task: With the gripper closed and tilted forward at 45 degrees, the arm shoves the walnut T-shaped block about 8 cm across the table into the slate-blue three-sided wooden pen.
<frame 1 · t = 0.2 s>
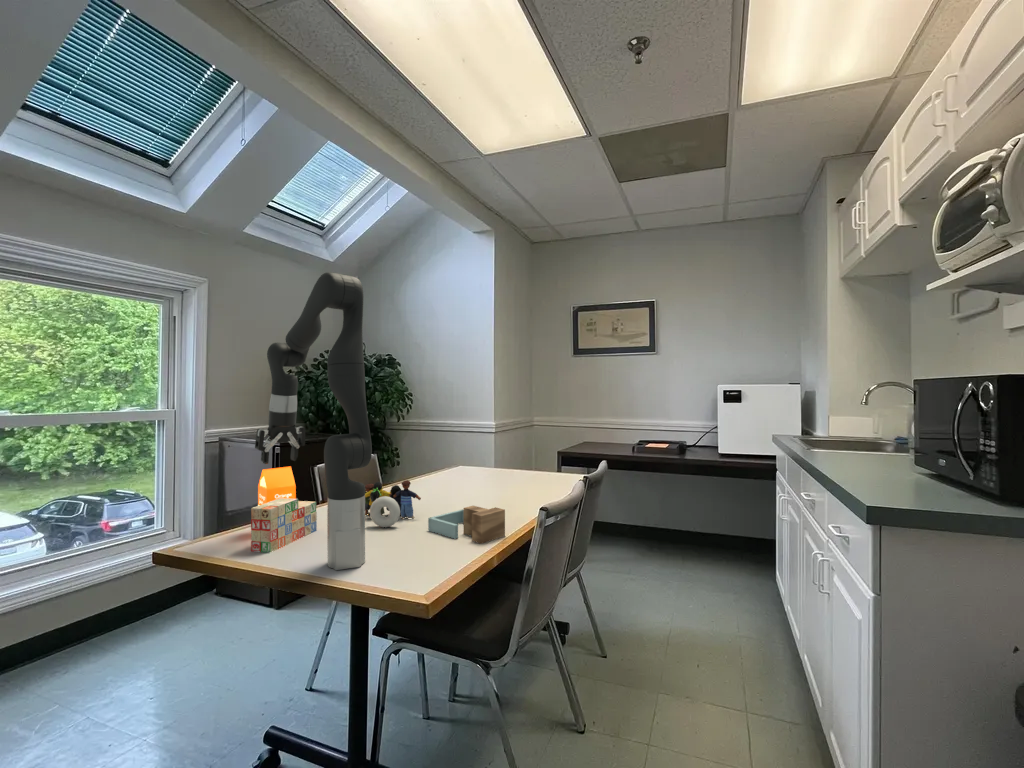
hand: (279, 461, 149), 23 cm above the table, tool pointing down, fingers open, 8 cm apart
stack of blocks: (286, 541, 145), on the table
doll family: (389, 517, 171), on the table
donut: (385, 527, 158), on the table
tee block: (480, 535, 149), on the table
orange juice: (276, 532, 154), on the table
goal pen: (462, 530, 154), on the table
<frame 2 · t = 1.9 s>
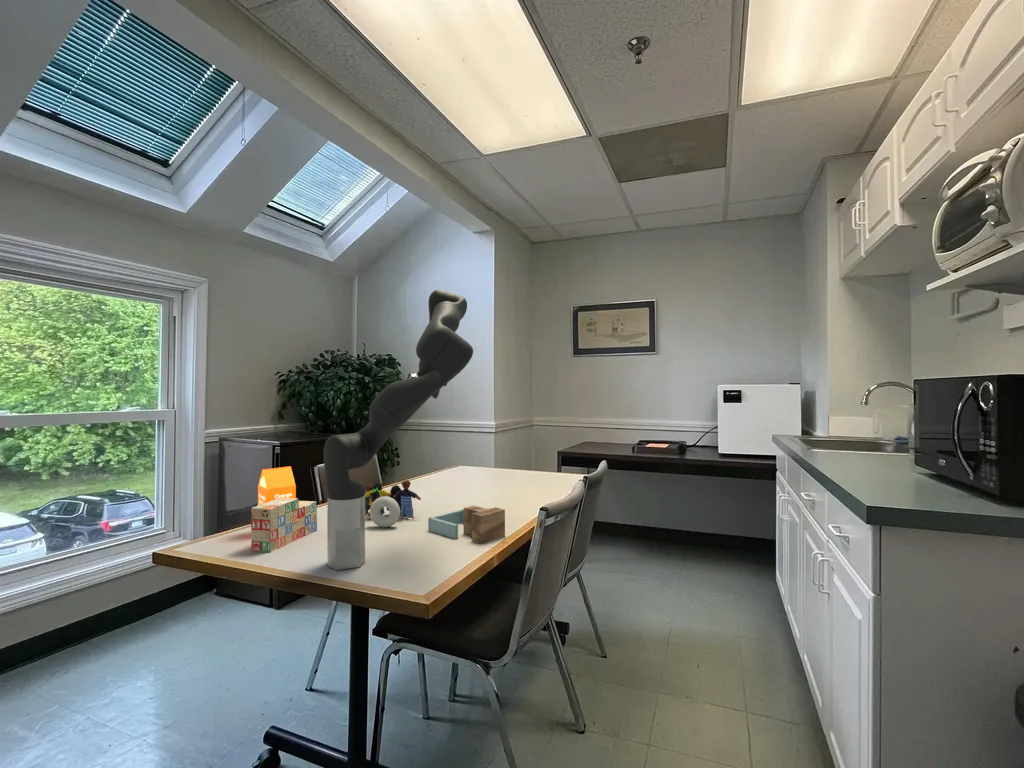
hand: (422, 399, 151), 41 cm above the table, tool tilted 35°, fingers open, 8 cm apart
nothing on the table moved.
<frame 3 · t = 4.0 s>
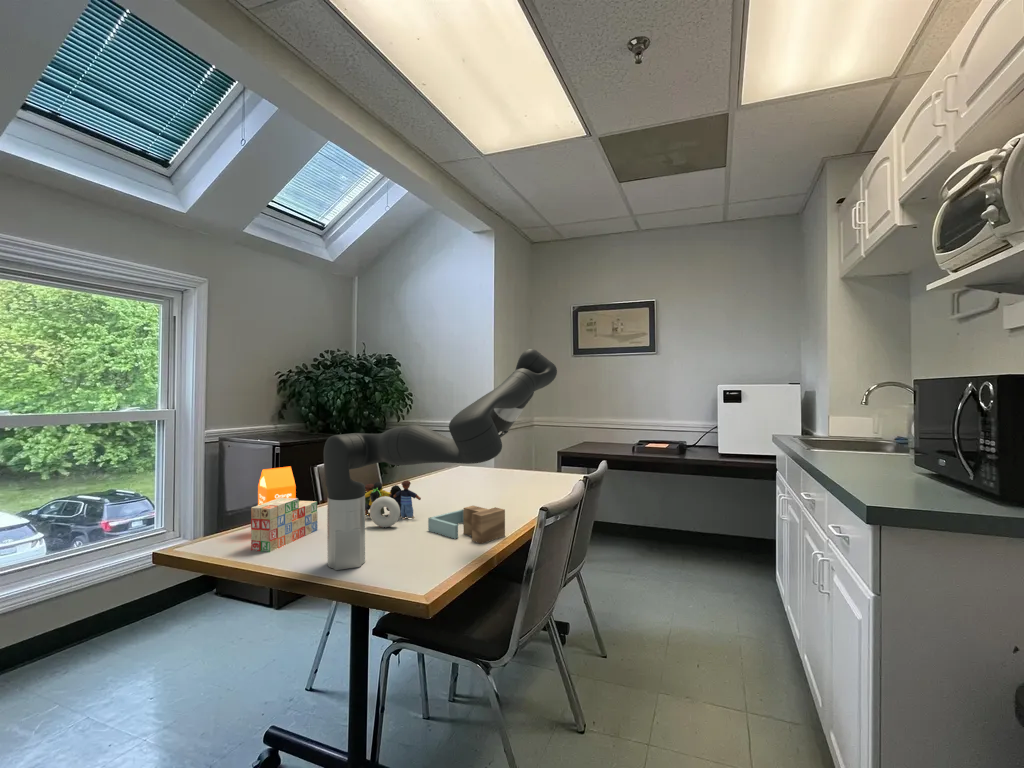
hand: (477, 450, 144), 26 cm above the table, tool tilted 45°, fingers closed
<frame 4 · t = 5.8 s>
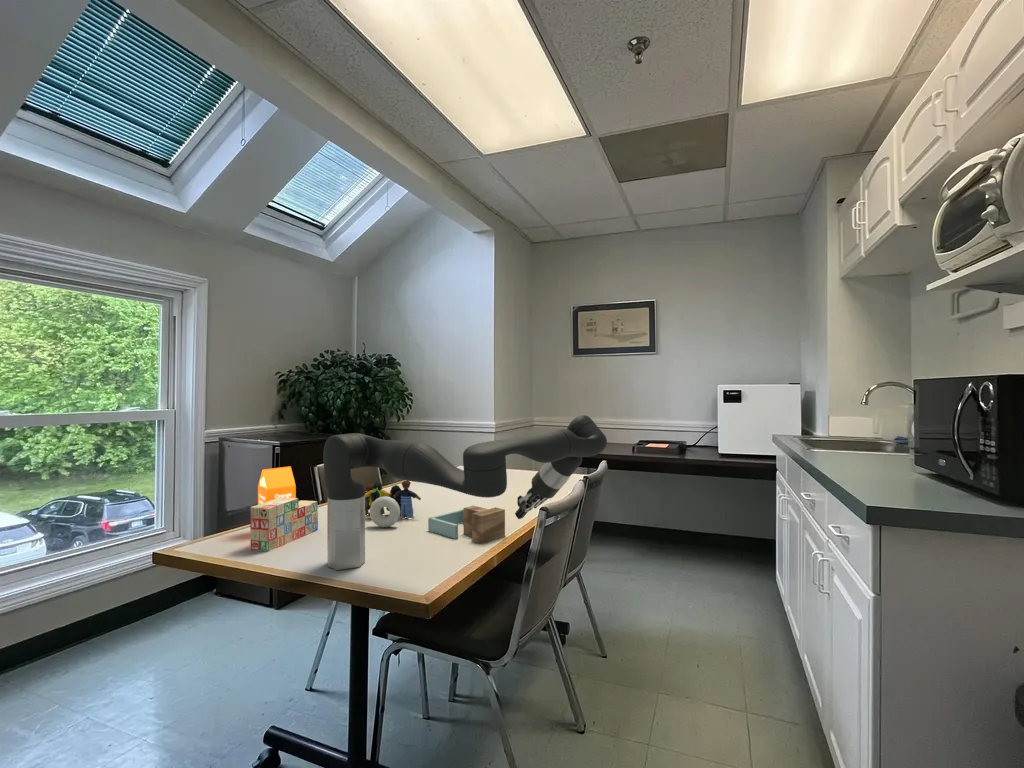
hand: (518, 516, 140), 8 cm above the table, tool tilted 45°, fingers closed
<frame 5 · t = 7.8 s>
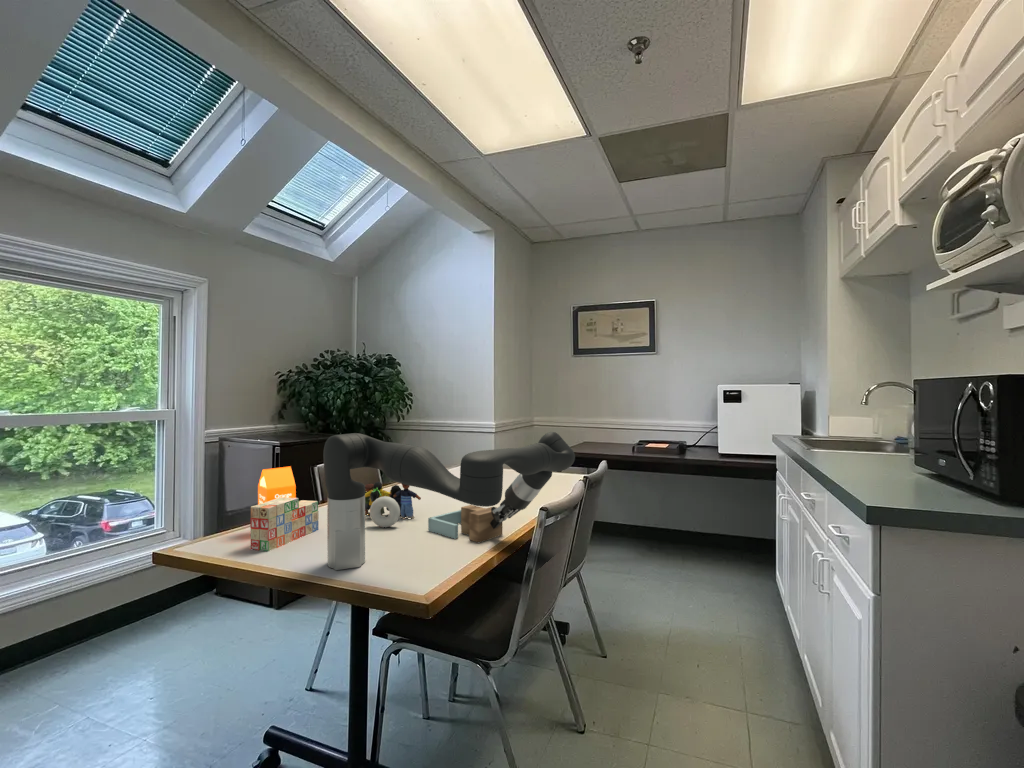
hand: (493, 525, 146), 4 cm above the table, tool tilted 45°, fingers closed
tee block: (478, 535, 150), on the table, touching gripper
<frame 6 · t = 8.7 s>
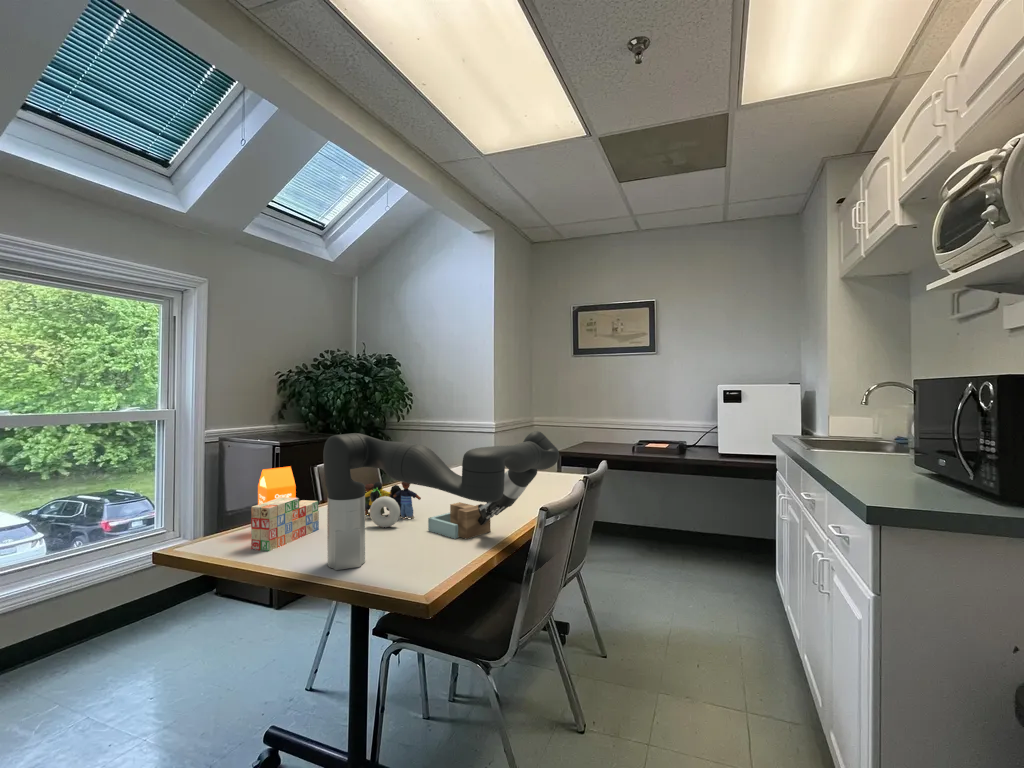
hand: (481, 522, 149), 4 cm above the table, tool tilted 45°, fingers closed
tee block: (466, 531, 153), on the table, touching gripper
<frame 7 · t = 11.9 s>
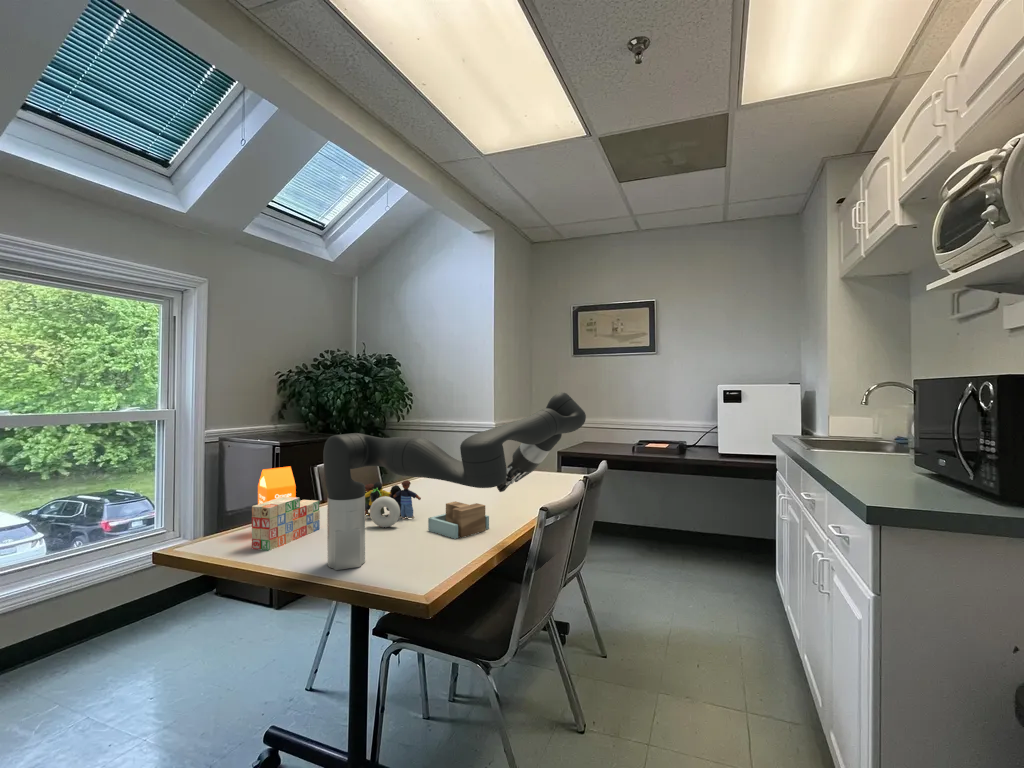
hand: (500, 489, 144), 15 cm above the table, tool tilted 45°, fingers closed
tee block: (461, 530, 154), on the table
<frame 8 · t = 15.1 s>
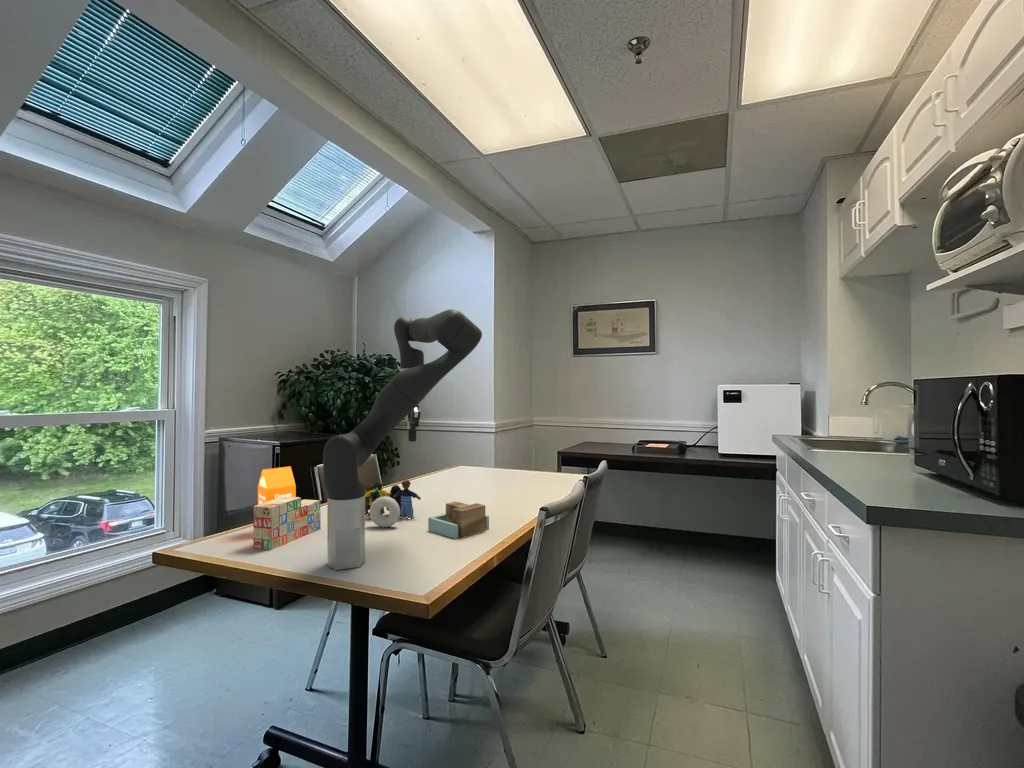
hand: (412, 441, 148), 29 cm above the table, tool pointing down, fingers closed
at the end: tee block 0.4 cm off-centre on the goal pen, point 0.0 cm above the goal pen's base; tee block tilted 0° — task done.
